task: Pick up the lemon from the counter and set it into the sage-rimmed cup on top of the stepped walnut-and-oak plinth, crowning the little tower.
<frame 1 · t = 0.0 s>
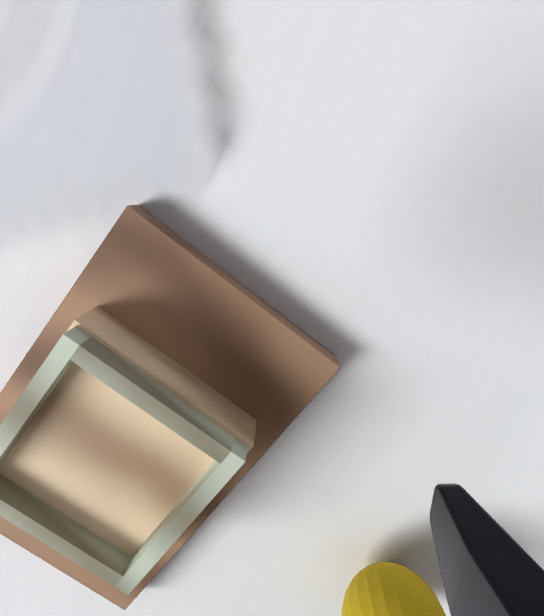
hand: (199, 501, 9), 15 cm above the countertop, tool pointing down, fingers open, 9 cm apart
lemon: (378, 566, 28), on the countertop
plinth: (134, 419, 25), on the countertop
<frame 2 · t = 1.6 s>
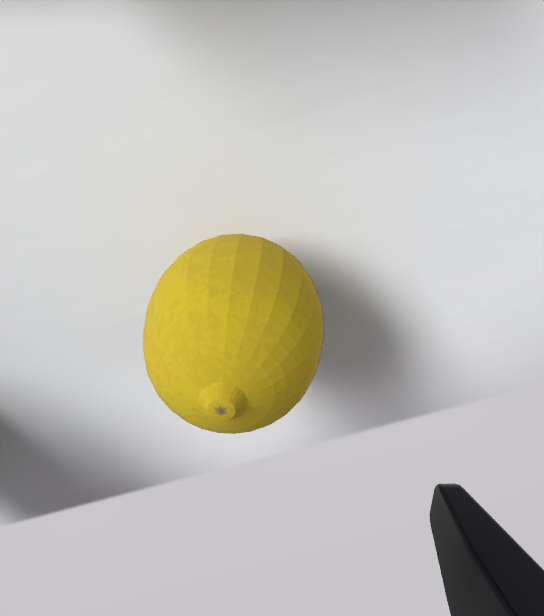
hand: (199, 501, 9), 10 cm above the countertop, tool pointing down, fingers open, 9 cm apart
lemon: (245, 271, 18), on the countertop
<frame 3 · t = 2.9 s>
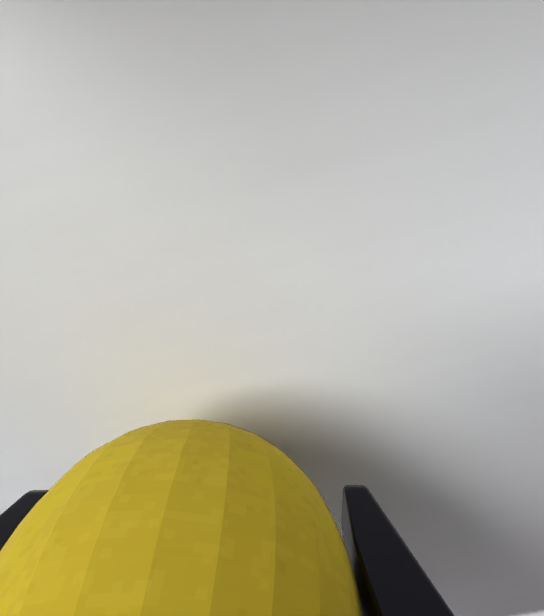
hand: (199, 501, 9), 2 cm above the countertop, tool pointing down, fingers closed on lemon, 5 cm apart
lemon: (211, 432, 10), on the countertop, touching gripper
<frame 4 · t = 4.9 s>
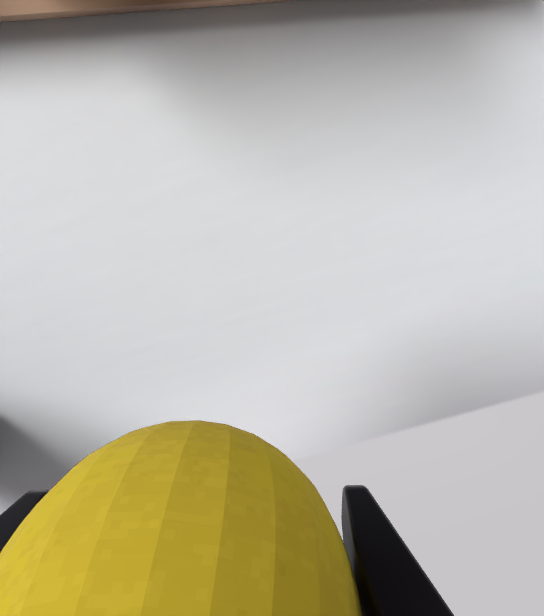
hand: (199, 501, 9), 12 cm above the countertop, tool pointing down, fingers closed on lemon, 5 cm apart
lemon: (211, 433, 10), point 10 cm above the countertop, touching gripper
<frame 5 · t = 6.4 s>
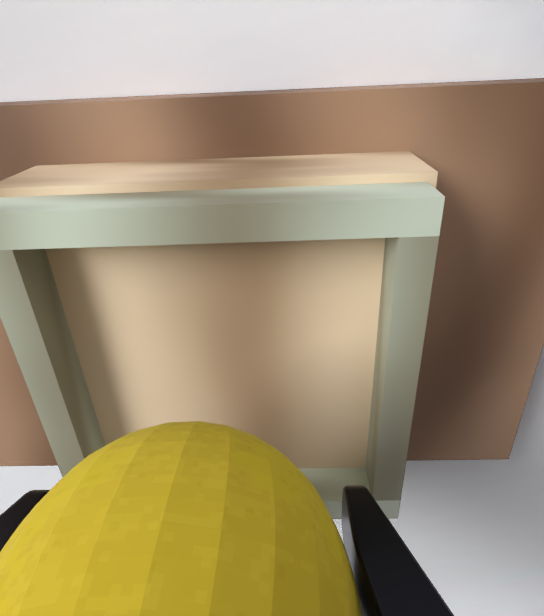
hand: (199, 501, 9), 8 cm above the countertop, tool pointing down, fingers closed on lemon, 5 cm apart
lemon: (212, 434, 10), point 6 cm above the countertop, touching gripper
plinth: (238, 298, 16), on the countertop
when the fingers open (7 cm above the countertop, at t = 7.0 s): lemon drops 1 cm, resting on plinth.
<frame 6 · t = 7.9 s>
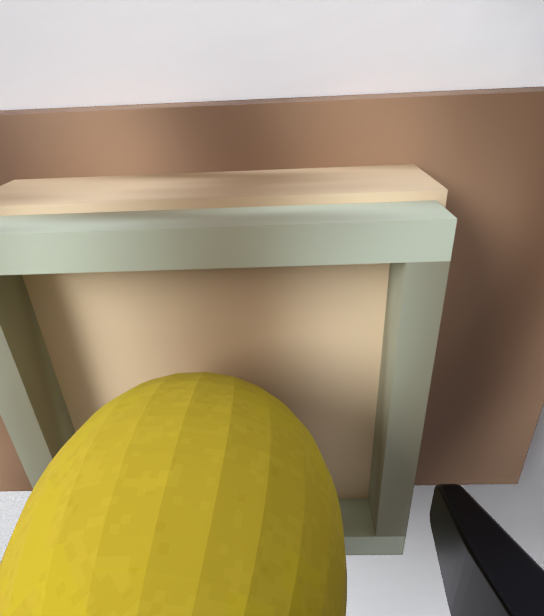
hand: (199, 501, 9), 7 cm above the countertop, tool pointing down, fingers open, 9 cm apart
lemon: (219, 394, 12), point 4 cm above the countertop, touching plinth
plinth: (233, 316, 15), on the countertop
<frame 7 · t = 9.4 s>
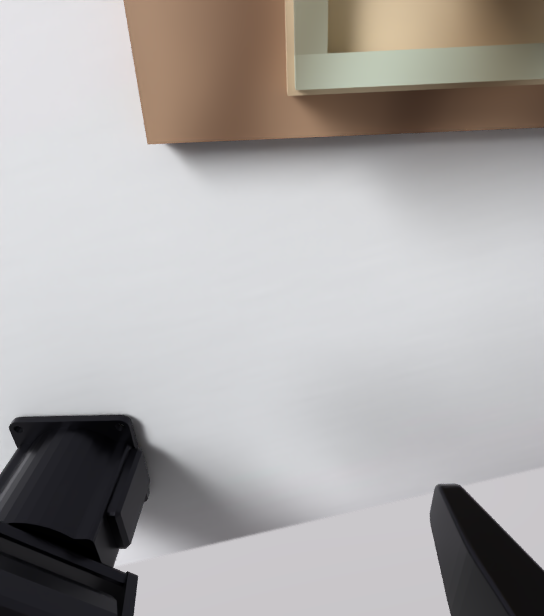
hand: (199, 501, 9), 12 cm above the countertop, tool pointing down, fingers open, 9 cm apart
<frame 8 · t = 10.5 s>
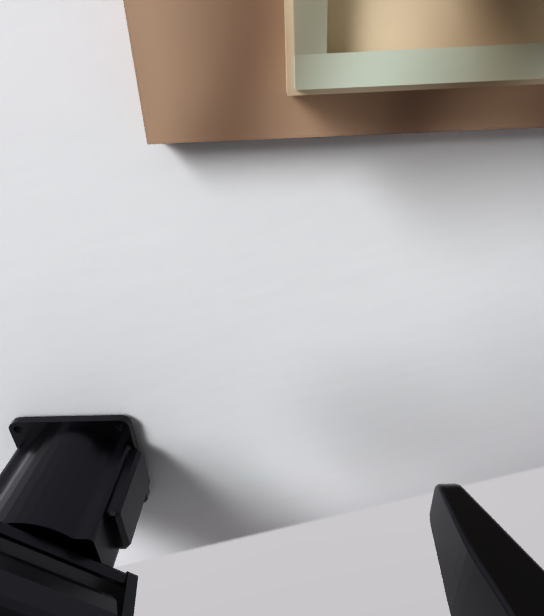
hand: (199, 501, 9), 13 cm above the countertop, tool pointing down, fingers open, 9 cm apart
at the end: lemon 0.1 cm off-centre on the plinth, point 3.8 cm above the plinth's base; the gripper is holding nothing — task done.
